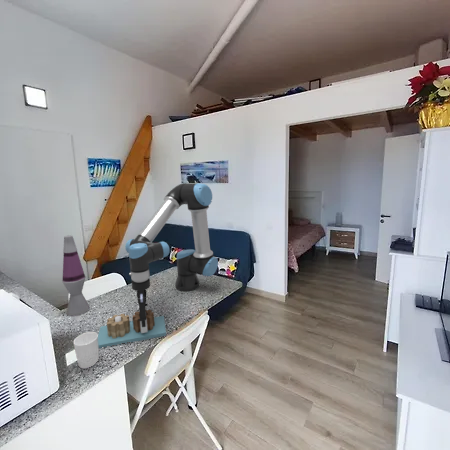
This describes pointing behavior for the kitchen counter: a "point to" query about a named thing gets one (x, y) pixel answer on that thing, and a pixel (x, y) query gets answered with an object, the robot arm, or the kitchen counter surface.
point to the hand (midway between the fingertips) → (144, 325)
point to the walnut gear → (149, 320)
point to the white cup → (87, 349)
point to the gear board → (131, 333)
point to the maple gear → (118, 326)
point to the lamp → (73, 278)
